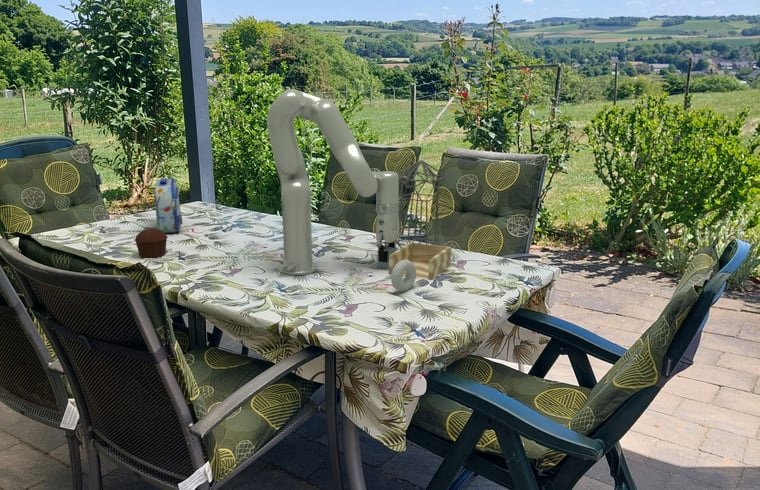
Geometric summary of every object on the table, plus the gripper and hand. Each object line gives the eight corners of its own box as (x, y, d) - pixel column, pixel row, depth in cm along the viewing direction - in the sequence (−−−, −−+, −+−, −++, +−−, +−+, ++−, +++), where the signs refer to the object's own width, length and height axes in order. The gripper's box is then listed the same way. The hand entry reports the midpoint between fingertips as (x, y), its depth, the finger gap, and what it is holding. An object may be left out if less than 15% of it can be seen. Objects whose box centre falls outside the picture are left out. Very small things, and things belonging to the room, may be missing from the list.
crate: (431, 281, 216) (432, 260, 214) (389, 275, 222) (389, 255, 221) (450, 266, 233) (451, 247, 231) (410, 261, 239) (410, 242, 237)
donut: (410, 286, 212) (410, 255, 209) (418, 288, 209) (419, 257, 207) (388, 293, 205) (388, 262, 202) (396, 296, 202) (396, 264, 200)
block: (390, 268, 228) (390, 251, 227) (377, 266, 230) (377, 249, 229) (396, 264, 232) (396, 248, 231) (383, 262, 235) (383, 246, 233)
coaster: (393, 272, 226) (393, 270, 226) (369, 269, 229) (369, 267, 229) (404, 265, 234) (404, 263, 233) (380, 262, 237) (380, 260, 237)
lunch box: (183, 235, 274) (179, 182, 268) (156, 237, 271) (152, 184, 265) (181, 221, 299) (178, 172, 294) (157, 223, 296) (153, 173, 291)
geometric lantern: (408, 247, 258) (412, 156, 249) (445, 253, 250) (450, 160, 241) (387, 256, 245) (391, 160, 236) (425, 263, 237) (430, 165, 228)
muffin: (155, 261, 238) (152, 234, 235) (129, 258, 241) (126, 231, 239) (175, 252, 249) (173, 226, 246) (150, 250, 252) (148, 224, 250)
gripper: (387, 214, 217) (386, 267, 222) (407, 204, 232) (406, 254, 237) (366, 212, 220) (366, 264, 225) (387, 202, 235) (387, 252, 240)
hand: (387, 258), depth 231 cm, fingers open, 5 cm apart
